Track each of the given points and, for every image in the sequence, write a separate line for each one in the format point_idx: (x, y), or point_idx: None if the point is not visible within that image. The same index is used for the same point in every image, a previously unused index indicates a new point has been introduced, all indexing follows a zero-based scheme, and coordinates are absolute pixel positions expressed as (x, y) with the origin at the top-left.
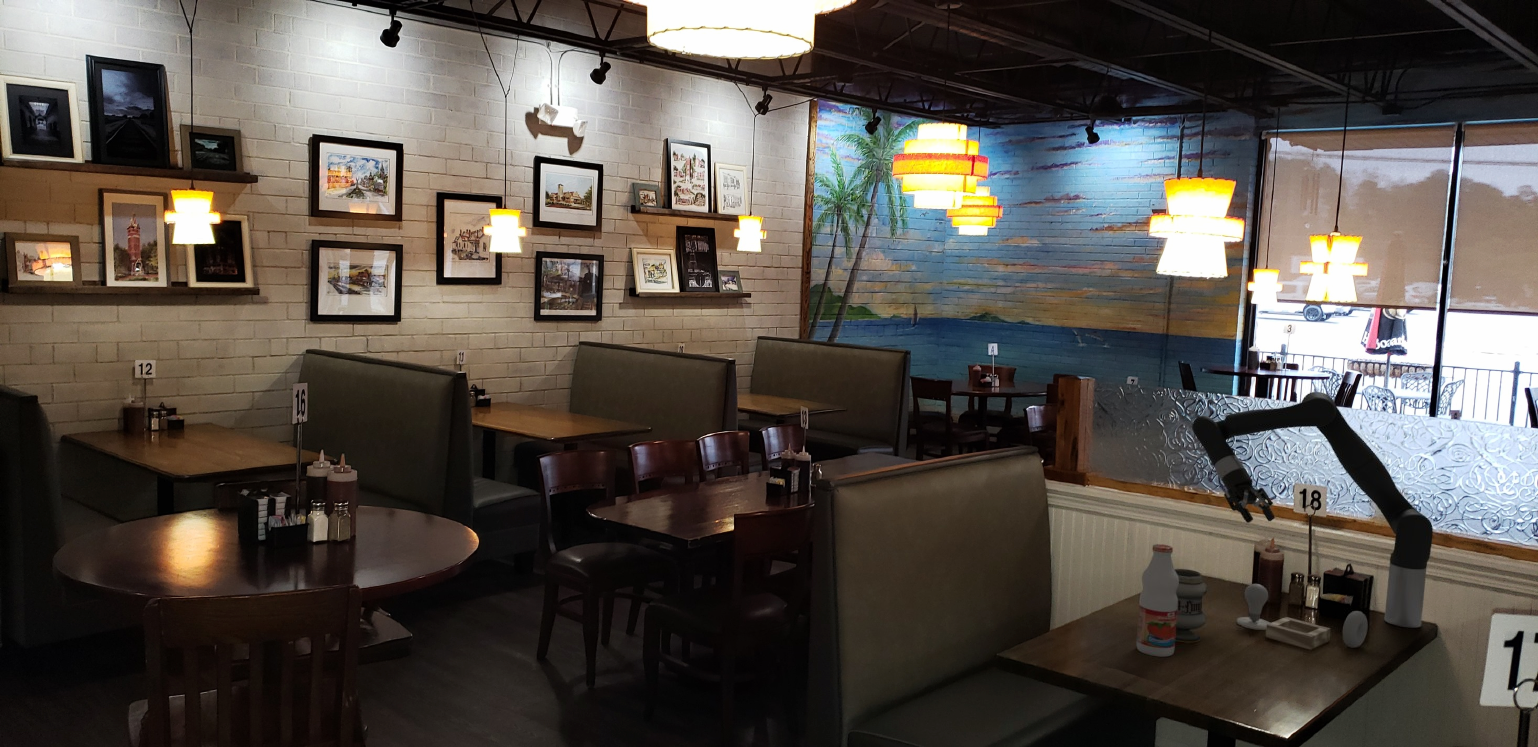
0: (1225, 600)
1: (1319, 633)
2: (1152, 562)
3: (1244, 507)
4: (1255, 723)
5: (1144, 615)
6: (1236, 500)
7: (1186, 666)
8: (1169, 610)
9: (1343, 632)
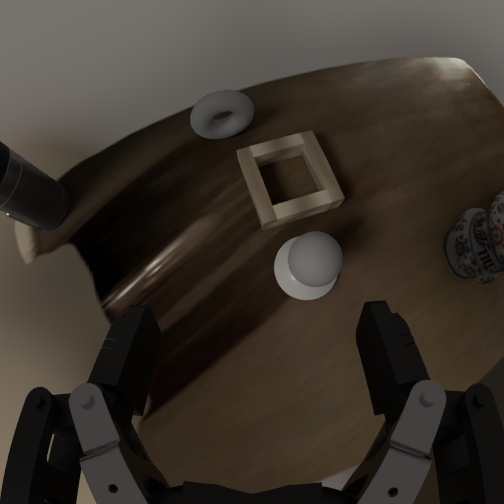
0: (231, 411)
1: (282, 137)
2: None
3: (427, 384)
4: (474, 76)
5: None
6: (486, 442)
7: (492, 167)
8: None
9: (252, 114)
